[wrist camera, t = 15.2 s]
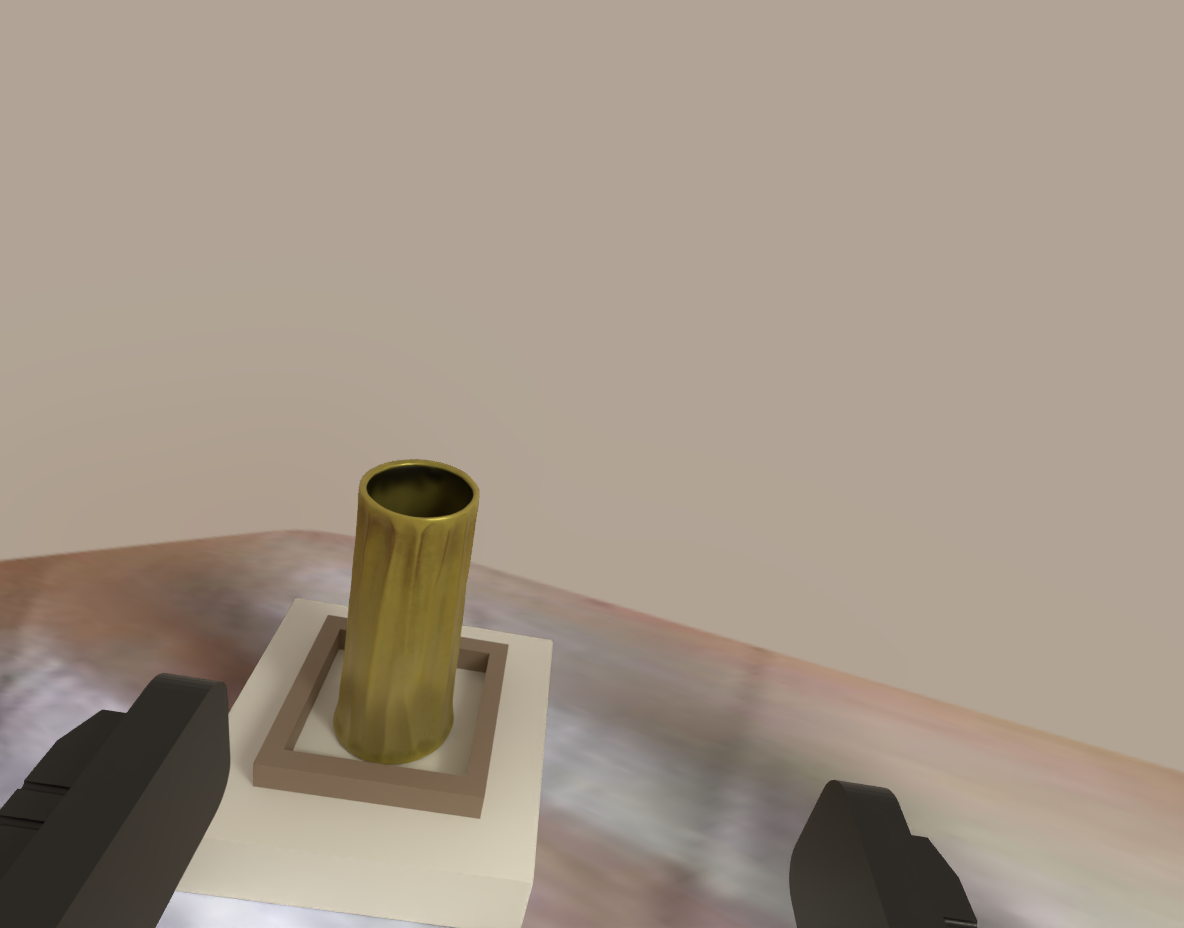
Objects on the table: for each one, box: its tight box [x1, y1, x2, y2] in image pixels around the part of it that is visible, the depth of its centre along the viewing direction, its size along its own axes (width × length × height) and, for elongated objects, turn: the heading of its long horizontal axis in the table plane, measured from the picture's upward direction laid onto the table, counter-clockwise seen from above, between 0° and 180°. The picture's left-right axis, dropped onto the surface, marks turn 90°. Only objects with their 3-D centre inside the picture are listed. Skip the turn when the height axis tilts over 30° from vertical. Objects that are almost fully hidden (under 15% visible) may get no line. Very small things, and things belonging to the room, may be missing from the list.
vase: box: [333, 459, 479, 765], centre depth 36 cm, size 6×6×14 cm
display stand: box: [175, 598, 553, 928], centre depth 40 cm, size 16×16×6 cm
